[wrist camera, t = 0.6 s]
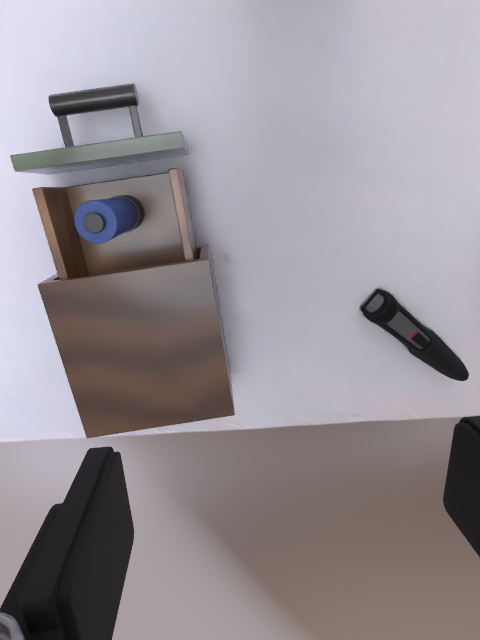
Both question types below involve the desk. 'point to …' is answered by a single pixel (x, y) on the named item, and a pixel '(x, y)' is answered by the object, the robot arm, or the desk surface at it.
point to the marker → (108, 218)
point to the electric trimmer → (413, 334)
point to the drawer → (112, 191)
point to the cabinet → (142, 345)
